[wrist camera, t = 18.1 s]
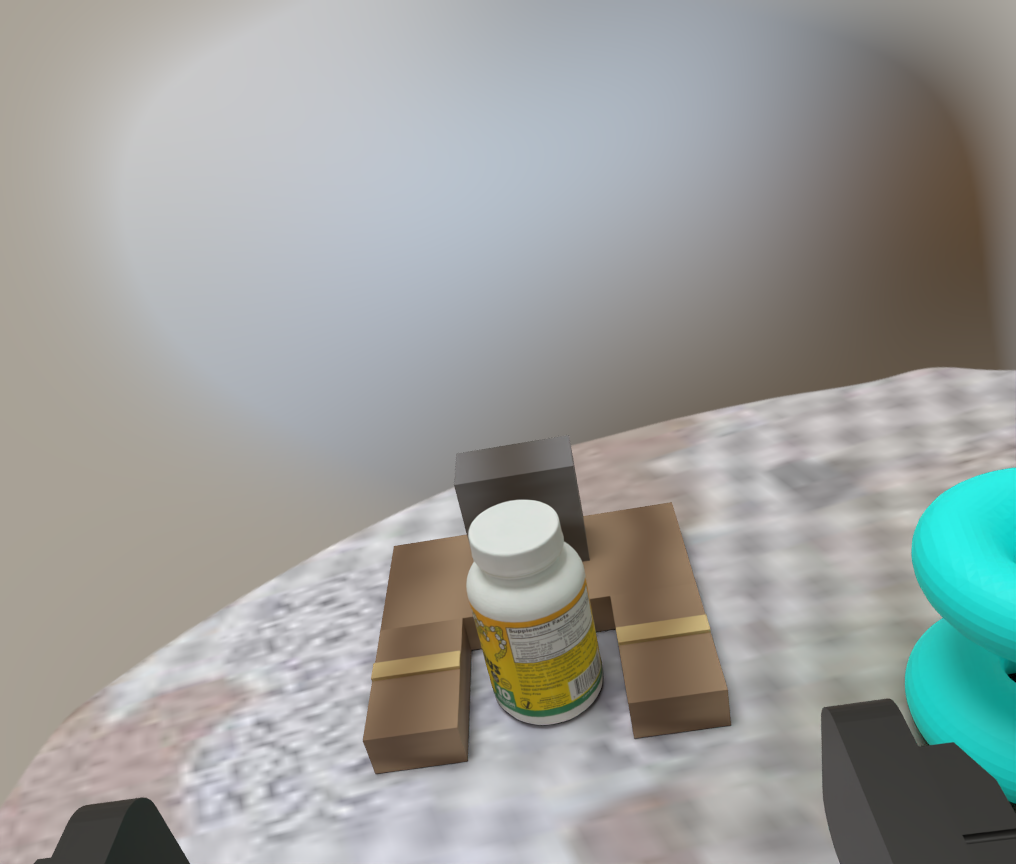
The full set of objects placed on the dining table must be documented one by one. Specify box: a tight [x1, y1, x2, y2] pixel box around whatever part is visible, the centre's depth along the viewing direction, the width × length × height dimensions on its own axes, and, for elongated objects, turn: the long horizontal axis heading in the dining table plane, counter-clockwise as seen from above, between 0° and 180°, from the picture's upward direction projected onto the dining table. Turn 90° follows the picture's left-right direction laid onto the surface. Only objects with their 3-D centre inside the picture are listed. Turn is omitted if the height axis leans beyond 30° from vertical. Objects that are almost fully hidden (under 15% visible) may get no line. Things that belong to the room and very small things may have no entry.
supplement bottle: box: [466, 500, 603, 725], centre depth 41 cm, size 5×5×10 cm
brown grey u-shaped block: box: [363, 435, 731, 774], centre depth 44 cm, size 16×14×8 cm
